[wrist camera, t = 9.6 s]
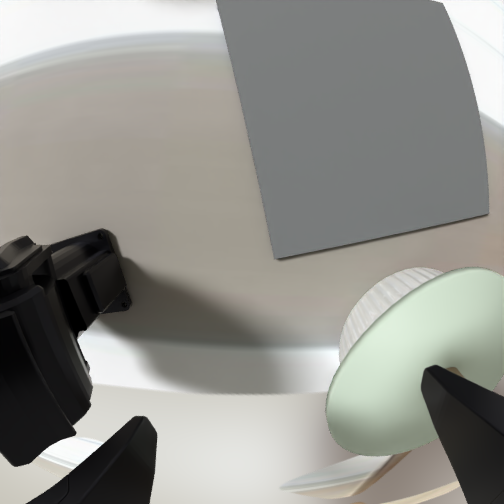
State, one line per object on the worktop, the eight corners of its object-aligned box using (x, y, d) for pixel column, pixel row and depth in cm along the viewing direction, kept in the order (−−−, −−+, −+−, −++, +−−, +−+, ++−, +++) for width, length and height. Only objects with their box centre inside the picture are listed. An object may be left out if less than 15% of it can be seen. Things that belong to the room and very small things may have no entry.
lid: (327, 466, 18) (335, 513, 13) (317, 302, 13) (342, 366, 9) (485, 407, 17) (507, 439, 12) (530, 245, 12) (577, 268, 8)
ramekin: (454, 353, 23) (488, 394, 16) (338, 402, 24) (355, 457, 18) (456, 232, 19) (512, 259, 13) (310, 284, 21) (333, 338, 14)
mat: (274, 257, 20) (274, 259, 19) (216, 2, 14) (215, 0, 14) (486, 212, 19) (489, 213, 18) (440, 4, 13) (442, 3, 13)
